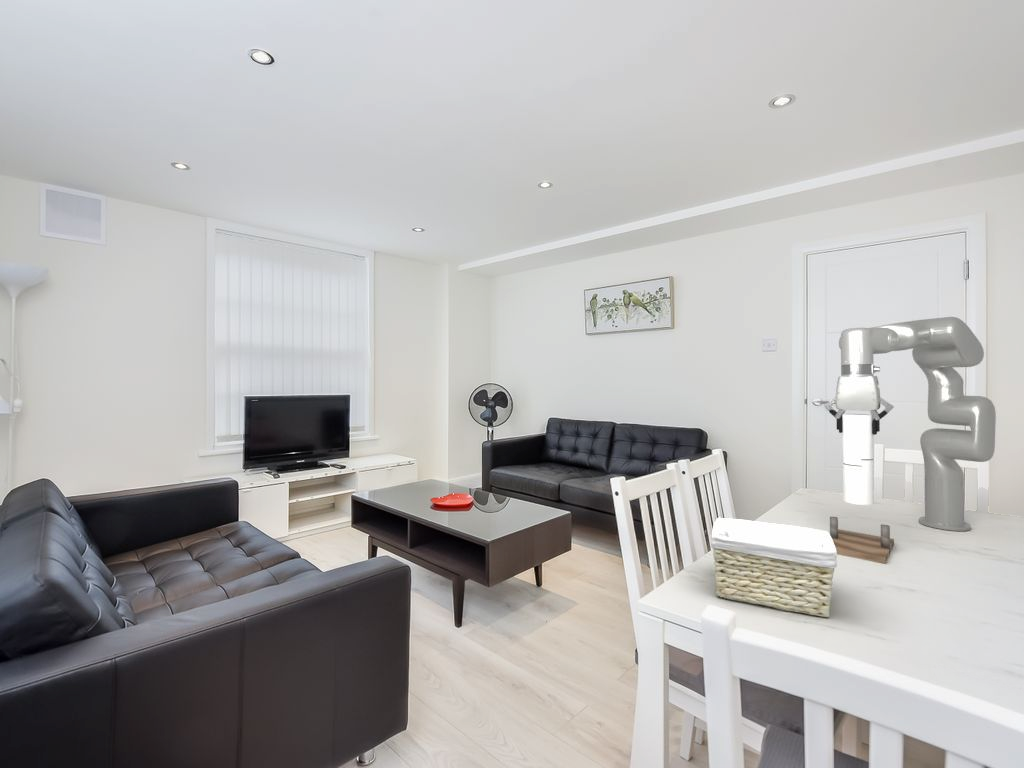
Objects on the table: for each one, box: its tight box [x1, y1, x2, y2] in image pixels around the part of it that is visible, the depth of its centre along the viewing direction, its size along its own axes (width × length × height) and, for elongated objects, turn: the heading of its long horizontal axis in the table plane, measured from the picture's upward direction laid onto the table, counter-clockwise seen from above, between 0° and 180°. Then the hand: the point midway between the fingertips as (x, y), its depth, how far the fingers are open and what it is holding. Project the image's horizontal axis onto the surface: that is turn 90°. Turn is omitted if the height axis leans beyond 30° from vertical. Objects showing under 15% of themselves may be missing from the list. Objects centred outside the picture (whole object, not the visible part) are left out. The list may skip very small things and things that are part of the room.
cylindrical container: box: [842, 413, 875, 506], centre depth 136 cm, size 7×7×25 cm
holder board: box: [829, 516, 895, 564], centre depth 136 cm, size 20×14×8 cm
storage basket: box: [710, 517, 838, 618], centre depth 107 cm, size 24×16×15 cm
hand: (857, 432), depth 136 cm, fingers closed on cylindrical container, 7 cm apart
